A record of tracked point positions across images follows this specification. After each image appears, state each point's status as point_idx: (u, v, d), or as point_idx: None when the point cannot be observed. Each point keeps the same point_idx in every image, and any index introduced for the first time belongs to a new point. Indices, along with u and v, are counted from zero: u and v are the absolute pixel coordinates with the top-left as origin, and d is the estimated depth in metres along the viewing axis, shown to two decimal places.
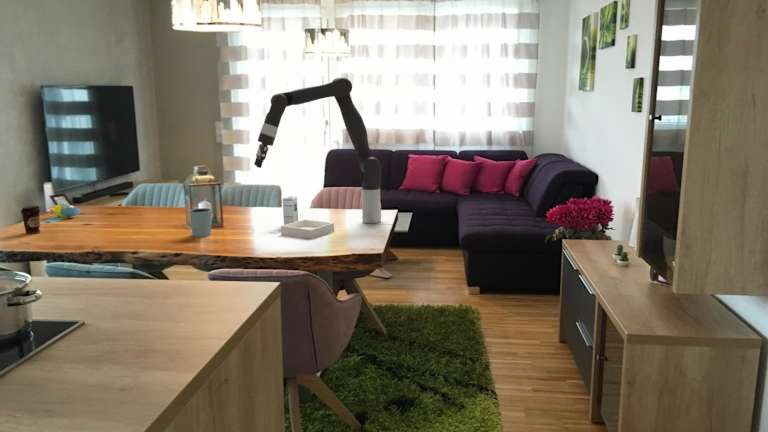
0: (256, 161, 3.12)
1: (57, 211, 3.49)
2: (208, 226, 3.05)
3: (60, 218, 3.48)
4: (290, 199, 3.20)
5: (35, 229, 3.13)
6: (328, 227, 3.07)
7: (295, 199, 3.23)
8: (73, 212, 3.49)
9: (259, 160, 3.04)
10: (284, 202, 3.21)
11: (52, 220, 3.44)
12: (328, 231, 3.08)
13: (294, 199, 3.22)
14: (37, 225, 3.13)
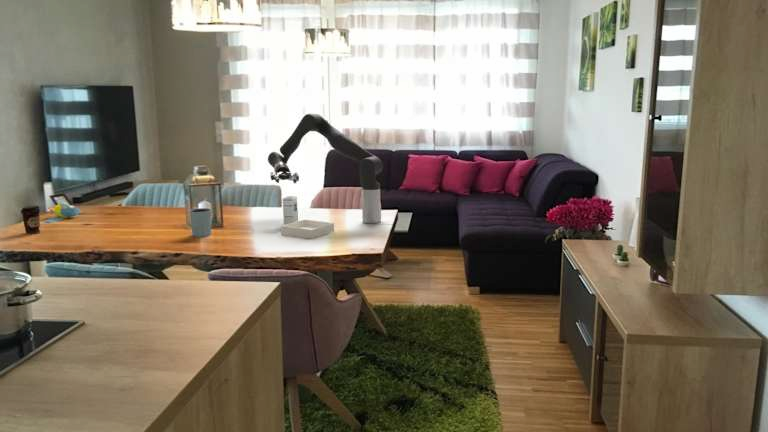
0: (293, 181, 3.30)
1: (57, 211, 3.49)
2: (208, 226, 3.05)
3: (60, 218, 3.49)
4: (290, 199, 3.20)
5: (35, 229, 3.13)
6: (328, 227, 3.07)
7: (295, 199, 3.23)
8: (73, 212, 3.49)
9: (275, 180, 3.28)
10: (284, 202, 3.21)
11: (52, 220, 3.44)
12: (328, 231, 3.08)
13: (294, 199, 3.22)
14: (37, 225, 3.13)
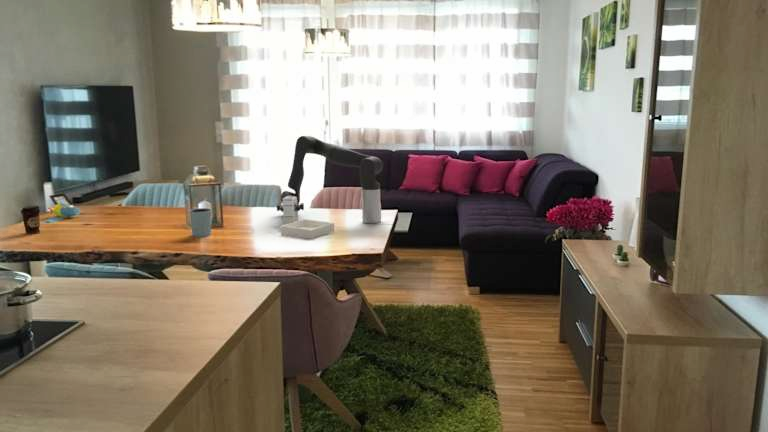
0: None
1: (57, 211, 3.49)
2: (208, 226, 3.05)
3: (60, 218, 3.49)
4: (290, 199, 3.20)
5: (35, 229, 3.13)
6: (328, 227, 3.07)
7: (295, 199, 3.23)
8: (73, 212, 3.49)
9: None
10: (284, 202, 3.21)
11: (52, 220, 3.44)
12: (328, 231, 3.08)
13: (294, 199, 3.22)
14: (37, 225, 3.13)
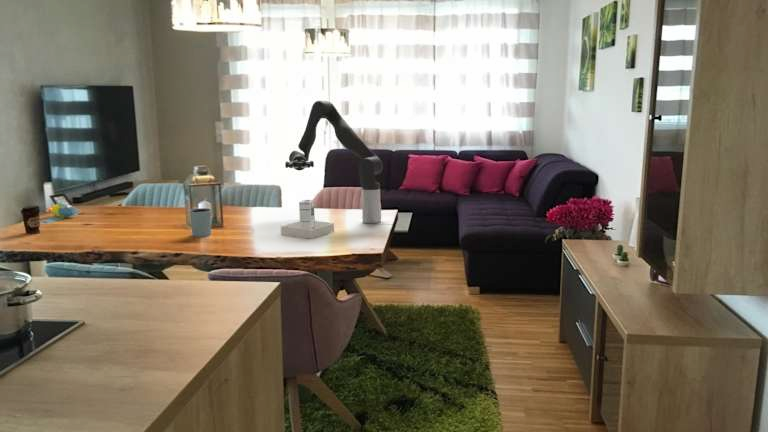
0: (307, 166, 3.23)
1: (55, 211, 3.49)
2: (208, 226, 3.05)
3: (57, 218, 3.49)
4: (307, 203, 3.03)
5: (35, 229, 3.13)
6: (328, 227, 3.07)
7: (312, 203, 3.07)
8: (70, 212, 3.49)
9: (289, 166, 3.23)
10: (301, 206, 3.04)
11: (49, 220, 3.44)
12: (328, 231, 3.08)
13: (311, 203, 3.05)
14: (37, 225, 3.13)
